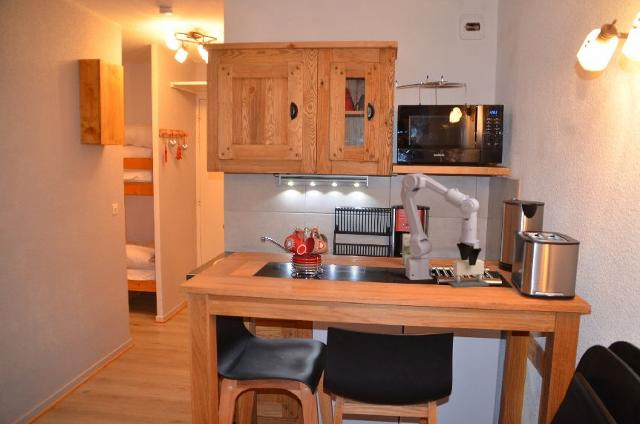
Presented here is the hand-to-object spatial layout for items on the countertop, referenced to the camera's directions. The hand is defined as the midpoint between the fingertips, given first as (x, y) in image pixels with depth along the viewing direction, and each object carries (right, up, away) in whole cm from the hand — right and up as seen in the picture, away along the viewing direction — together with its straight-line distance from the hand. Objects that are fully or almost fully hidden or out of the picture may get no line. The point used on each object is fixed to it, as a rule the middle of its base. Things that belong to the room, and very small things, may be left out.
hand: (468, 263), depth 195 cm
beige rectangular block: (0, -4, 0) cm, 4 cm away
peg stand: (0, -9, +1) cm, 9 cm away
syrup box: (-17, -5, +37) cm, 41 cm away
